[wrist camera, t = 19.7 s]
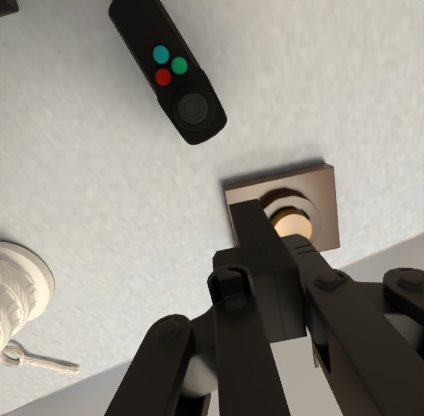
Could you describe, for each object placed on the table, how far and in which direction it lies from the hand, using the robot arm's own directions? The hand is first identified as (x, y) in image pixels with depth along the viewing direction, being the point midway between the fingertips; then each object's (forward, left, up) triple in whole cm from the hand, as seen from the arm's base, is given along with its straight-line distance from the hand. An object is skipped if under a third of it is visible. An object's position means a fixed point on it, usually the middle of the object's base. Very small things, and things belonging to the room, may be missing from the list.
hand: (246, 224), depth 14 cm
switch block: (+5, -7, -17) cm, 19 cm away
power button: (+5, -7, -14) cm, 16 cm away
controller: (-3, +10, -17) cm, 20 cm away
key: (-34, -24, -17) cm, 45 cm away
